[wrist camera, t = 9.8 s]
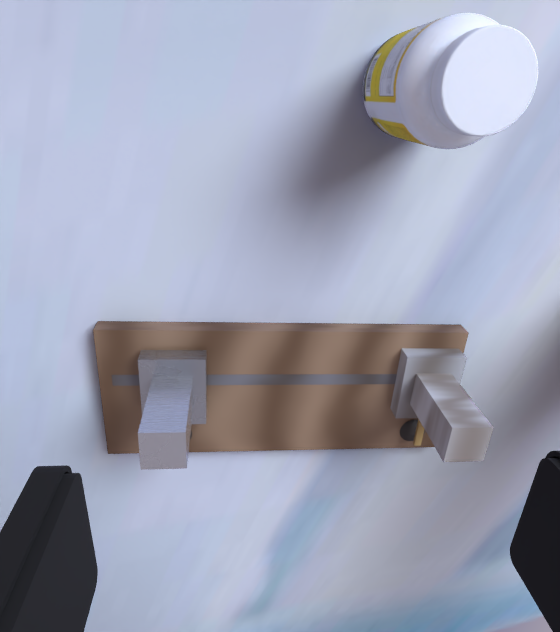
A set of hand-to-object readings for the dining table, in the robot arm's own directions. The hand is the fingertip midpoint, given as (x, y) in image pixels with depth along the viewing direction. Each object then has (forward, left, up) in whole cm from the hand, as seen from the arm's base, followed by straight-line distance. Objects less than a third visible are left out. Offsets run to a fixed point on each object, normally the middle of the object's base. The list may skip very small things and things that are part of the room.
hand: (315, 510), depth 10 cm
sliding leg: (+6, +15, -26) cm, 31 cm away
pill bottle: (-10, -9, -28) cm, 31 cm away
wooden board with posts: (-3, +15, -28) cm, 32 cm away
